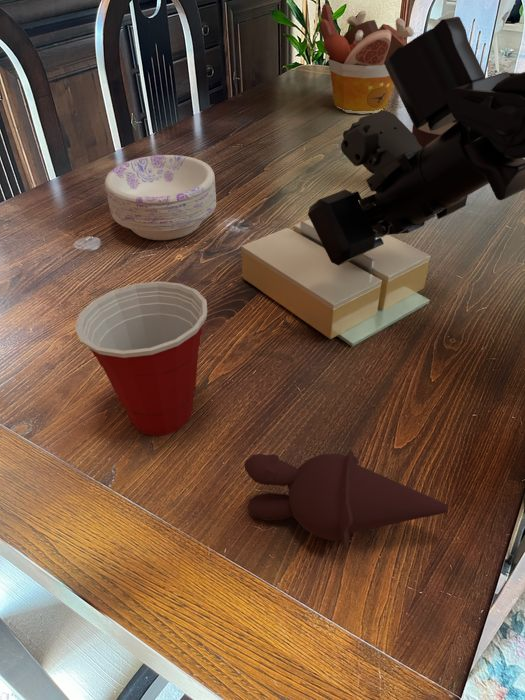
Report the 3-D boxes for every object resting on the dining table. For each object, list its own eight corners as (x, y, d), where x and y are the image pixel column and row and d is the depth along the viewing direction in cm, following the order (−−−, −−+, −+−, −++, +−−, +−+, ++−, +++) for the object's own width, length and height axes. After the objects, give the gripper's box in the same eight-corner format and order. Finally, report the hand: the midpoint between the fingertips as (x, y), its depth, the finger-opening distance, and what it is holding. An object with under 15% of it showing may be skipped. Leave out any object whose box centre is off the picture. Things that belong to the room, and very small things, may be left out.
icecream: (448, 438, 42) (254, 422, 45) (457, 503, 35) (230, 479, 38) (440, 511, 44) (258, 491, 48) (447, 583, 38) (236, 554, 41)
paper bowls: (157, 263, 74) (149, 208, 69) (93, 227, 82) (82, 175, 77) (239, 224, 82) (237, 172, 77) (174, 194, 90) (168, 146, 85)
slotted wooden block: (436, 299, 67) (445, 262, 63) (343, 352, 59) (347, 313, 56) (322, 237, 79) (324, 203, 76) (233, 274, 71) (231, 239, 68)
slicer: (374, 297, 65) (386, 219, 59) (360, 305, 64) (370, 226, 58) (306, 257, 73) (310, 184, 66) (292, 263, 71) (295, 189, 65)
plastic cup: (177, 359, 59) (163, 261, 51) (240, 417, 52) (234, 314, 44) (82, 407, 53) (50, 305, 46) (139, 477, 47) (112, 372, 39)
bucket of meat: (404, 99, 129) (419, -1, 116) (401, 121, 117) (416, 12, 104) (320, 94, 133) (325, -3, 120) (307, 115, 121) (311, 9, 108)
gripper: (468, 72, 54) (371, 153, 67) (328, 111, 45) (249, 195, 59) (518, 176, 54) (411, 236, 68) (389, 235, 45) (296, 289, 59)
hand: (346, 236), depth 63 cm, fingers closed on slicer, 2 cm apart
